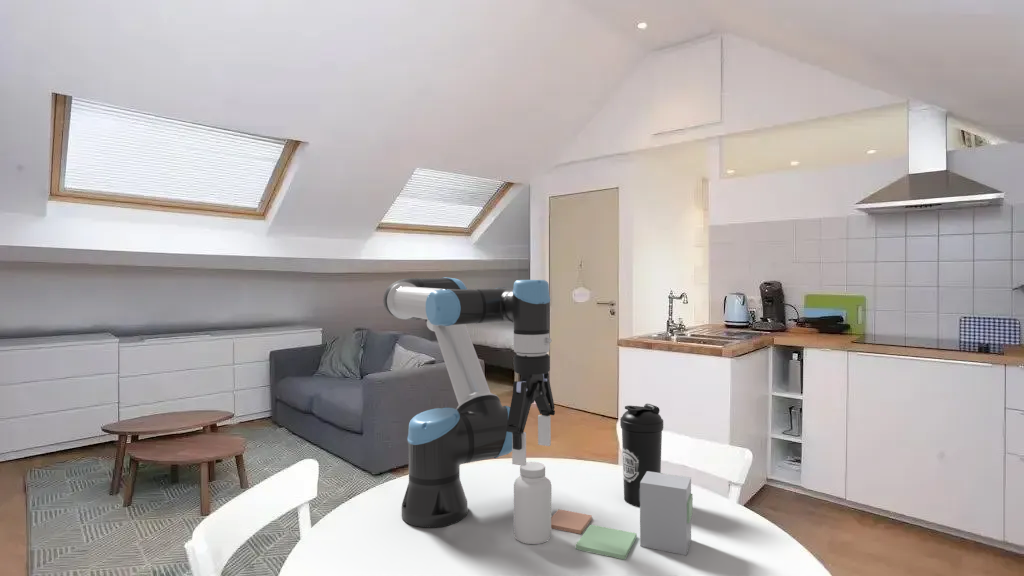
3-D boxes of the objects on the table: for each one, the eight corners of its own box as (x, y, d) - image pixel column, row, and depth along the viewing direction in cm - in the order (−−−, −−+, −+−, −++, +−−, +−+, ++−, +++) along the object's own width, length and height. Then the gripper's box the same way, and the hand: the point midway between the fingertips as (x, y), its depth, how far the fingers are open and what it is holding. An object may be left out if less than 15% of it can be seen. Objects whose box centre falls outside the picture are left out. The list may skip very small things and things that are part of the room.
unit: (638, 545, 112) (638, 482, 112) (645, 531, 118) (645, 470, 118) (688, 555, 108) (688, 489, 108) (693, 540, 114) (693, 477, 114)
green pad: (575, 549, 111) (575, 545, 111) (590, 528, 120) (590, 524, 120) (625, 559, 107) (625, 555, 107) (636, 537, 116) (636, 533, 116)
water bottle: (612, 495, 137) (612, 403, 137) (646, 489, 141) (646, 399, 141) (637, 511, 128) (636, 413, 127) (672, 504, 132) (672, 408, 131)
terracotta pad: (545, 527, 121) (545, 523, 121) (558, 512, 128) (558, 509, 128) (580, 534, 117) (580, 530, 117) (592, 518, 124) (592, 515, 124)
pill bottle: (549, 547, 112) (548, 473, 111) (510, 543, 113) (509, 471, 113) (553, 529, 120) (553, 460, 119) (517, 526, 121) (516, 458, 121)
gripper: (524, 363, 103) (525, 476, 103) (568, 346, 125) (568, 439, 126) (488, 361, 106) (489, 471, 106) (537, 345, 128) (538, 436, 129)
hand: (532, 454), depth 116 cm, fingers open, 13 cm apart
